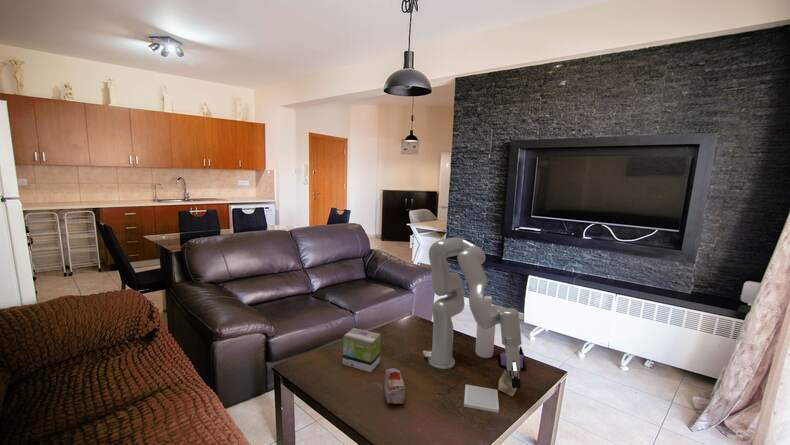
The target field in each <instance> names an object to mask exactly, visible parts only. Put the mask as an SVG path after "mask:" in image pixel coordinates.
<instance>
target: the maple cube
mask: <svg viewBox="0 0 790 445" xmlns="http://www.w3.org/2000/svg"><path fill="white" fill-rule="evenodd" d="M498 390H499V391H501V392H502V393H504V394H506V395H508V396H511V397H514V396H515V394H516V392H517V390H518V388H512V381H511V376H510V371H508V370H504V371H503V373H502V375H501V376H500V378H499V380H498V388H497V391H498Z"/></svg>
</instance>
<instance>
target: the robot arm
mask: <svg viewBox="0 0 790 445" xmlns="http://www.w3.org/2000/svg"><path fill="white" fill-rule="evenodd" d="M455 256H457V257H456V258H457V263H458V265H459V267H460V269H461V270H460V271H461V272H462V275H463V276H464V278H465V281H466V284H467V285H468V304H469V309H470V312H471V314H472V316H473V318H474V320H475V323H476V325H477V324H478V325H479V326H480V327H482V328H484V329H489V328H491V327H493V326H495V327H496V326H497V325H500V326H499V327H500V334H501V344H502V345H503V346H504V351H505V352H504V353H505V355H506V365H507V368H506V371H507V372H509V373H510V376H511V381H512V388H517V389H521V388H522V387H521V378H520V374H519V372H520V371H521V370H520V356H519V348H520V346H522V344H523V343H522V336H521V323H520V312H519V311H518V310H517V309H516V308H513V307H511V308H510V307H504V306H501V305H498V304H497V305H496V304H494V305H493V304H492V306H490V307H488V308H486V305H485V303H484V293H485V289H486V286H487V285H488V278H487V276H486V274H485V272H484V269H483V267H482V265H483V264H484V263H485V261H486V254H485V251H484V250H483V249H482V248H480V246H478V245H476V244H474V243H472V242H469V241H468V240H466V239H463V238H461V237H457V236H455V237H449V238H444V239H443V238H442V239H439V240H437V241H435V242H433V243H432V244H431V246H430V247H429V249H428V259H429V263H430V268H431V281H432V290H433V292H434V294H435V295H436V296H438V297H441V298H439V299H437V300H436V301H434V303H433V305H432V307H431V313H432V319H433V320H432V323H433V324H432V345H431V346H432V348H431V350H422V355H424V358H427V359H428V364H429V365H430V366H432V367H434V368H436V369H441V370H446V369H447V370H448V369H451V368H453V367H454V366H455V364H456V360H455V358H454V357H453V342H454V323H453V321H452V317H453V318H454V317H455V316H456V315H459V314H461V313H462V312H463V311H464V309H465V297H464V295H465V292H464V288H463V287H464V286H463V281H462V279H461V277H460V275H459V274H457V272H450V264H449V262H448V260H447V258H451V257H455ZM443 296H444V297H443Z"/></svg>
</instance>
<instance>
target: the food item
mask: <svg viewBox="0 0 790 445" xmlns="http://www.w3.org/2000/svg"><path fill="white" fill-rule="evenodd" d="M383 378H384V379H383V381H384V382H383V386H384V387H383V388H384V396H385V399H386V402H387V404H391V405H392V404H393V405H394V404H395V405H399V404H400V405H402V404H404V402H405V395H406V387H405V383H404V379H403V377H402V373H401V370H400V369H398V368H393V367H392V368H387V369H384V375H383Z"/></svg>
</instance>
